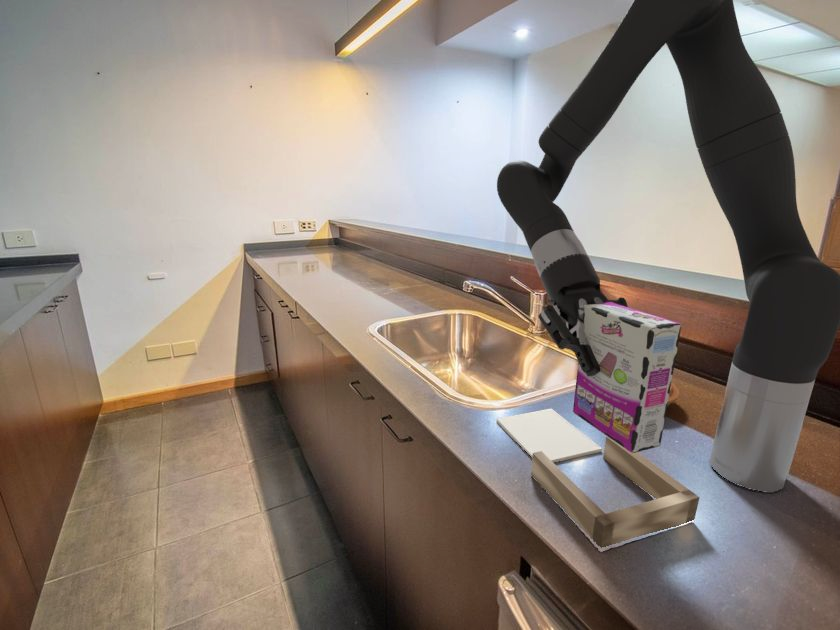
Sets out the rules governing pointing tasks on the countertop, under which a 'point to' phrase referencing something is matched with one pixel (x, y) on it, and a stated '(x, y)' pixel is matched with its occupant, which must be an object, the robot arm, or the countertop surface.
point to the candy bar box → (627, 374)
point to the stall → (626, 523)
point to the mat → (548, 435)
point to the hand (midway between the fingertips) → (611, 370)
